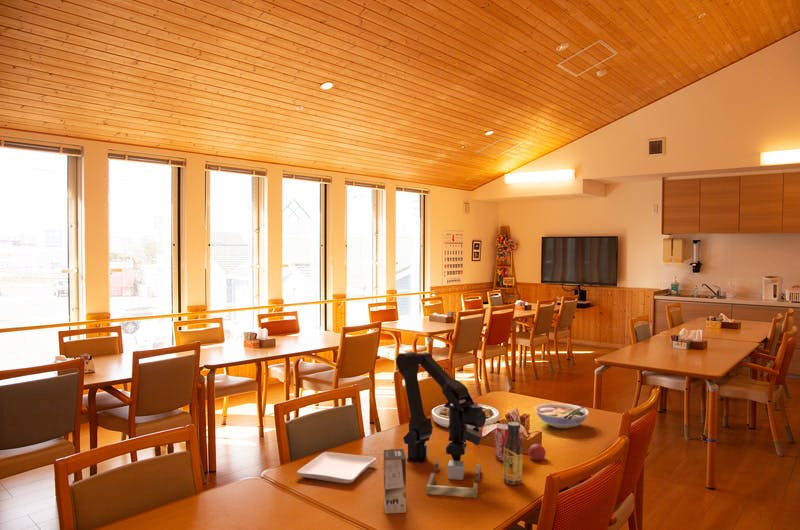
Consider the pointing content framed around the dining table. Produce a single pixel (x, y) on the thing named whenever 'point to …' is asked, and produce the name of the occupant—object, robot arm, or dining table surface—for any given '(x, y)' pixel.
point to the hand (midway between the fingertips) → (457, 466)
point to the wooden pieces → (450, 489)
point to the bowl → (442, 418)
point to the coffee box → (394, 481)
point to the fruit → (537, 452)
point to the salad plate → (336, 467)
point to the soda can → (500, 440)
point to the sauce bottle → (513, 456)
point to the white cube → (456, 470)
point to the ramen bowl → (561, 414)
